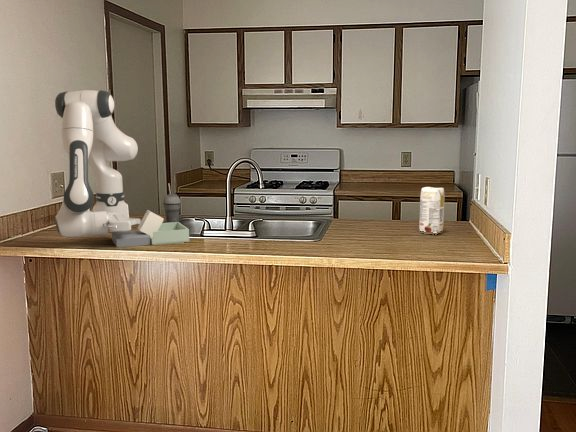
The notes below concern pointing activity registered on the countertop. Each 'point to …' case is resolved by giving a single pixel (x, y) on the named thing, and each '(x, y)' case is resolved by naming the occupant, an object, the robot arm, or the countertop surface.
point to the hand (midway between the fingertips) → (140, 220)
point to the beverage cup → (172, 207)
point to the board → (130, 238)
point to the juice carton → (431, 209)
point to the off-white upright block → (150, 223)
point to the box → (170, 234)
